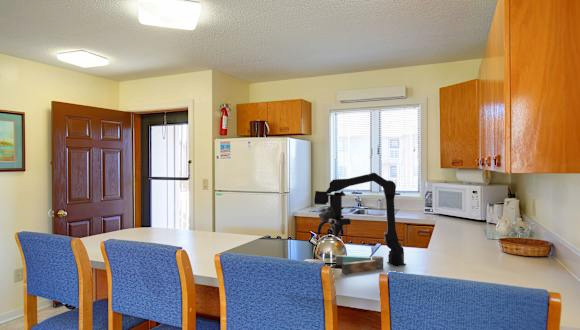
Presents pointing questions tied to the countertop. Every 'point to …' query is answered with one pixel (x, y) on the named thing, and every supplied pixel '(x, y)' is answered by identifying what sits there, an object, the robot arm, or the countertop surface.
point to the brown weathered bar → (350, 259)
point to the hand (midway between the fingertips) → (335, 236)
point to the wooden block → (363, 265)
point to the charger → (314, 260)
